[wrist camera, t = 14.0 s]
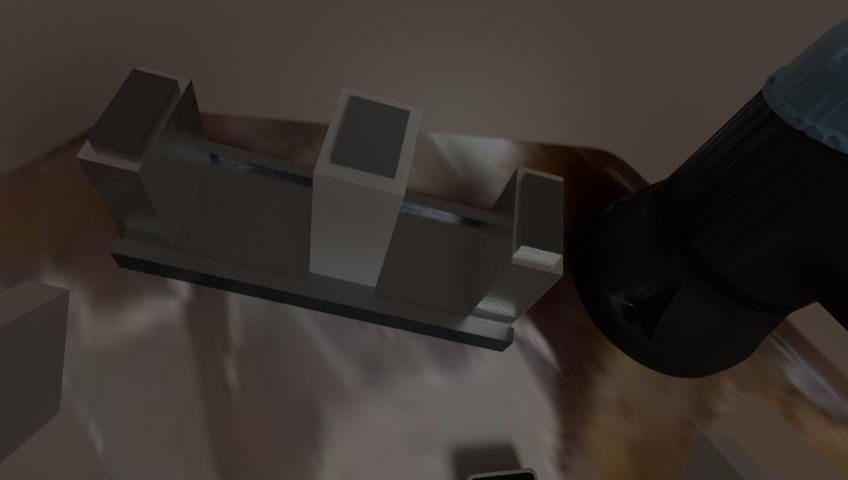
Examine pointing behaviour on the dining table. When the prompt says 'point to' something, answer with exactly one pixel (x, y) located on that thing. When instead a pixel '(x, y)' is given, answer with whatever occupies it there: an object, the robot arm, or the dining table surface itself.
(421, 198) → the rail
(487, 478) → the multiport hub
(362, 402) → the dining table surface
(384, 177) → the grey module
